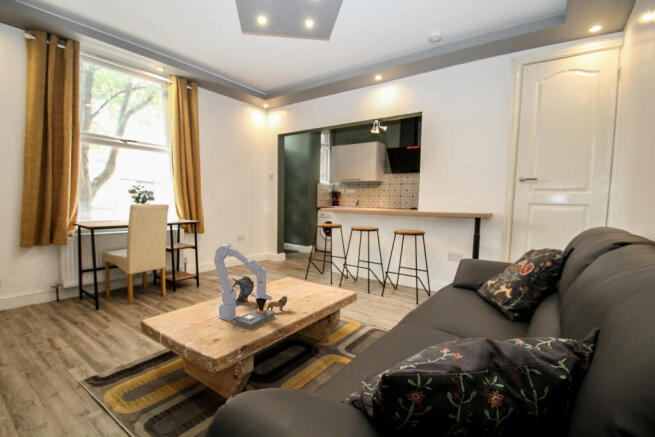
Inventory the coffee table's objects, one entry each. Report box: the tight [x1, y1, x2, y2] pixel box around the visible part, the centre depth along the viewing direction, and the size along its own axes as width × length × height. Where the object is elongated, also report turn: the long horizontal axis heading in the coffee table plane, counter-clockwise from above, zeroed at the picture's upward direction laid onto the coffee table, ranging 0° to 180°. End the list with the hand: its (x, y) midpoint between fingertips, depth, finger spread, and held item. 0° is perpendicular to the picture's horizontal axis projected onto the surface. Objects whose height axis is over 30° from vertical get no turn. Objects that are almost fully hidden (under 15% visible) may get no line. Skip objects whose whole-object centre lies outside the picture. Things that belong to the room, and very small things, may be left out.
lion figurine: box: [266, 295, 288, 313], centre depth 191 cm, size 15×5×9 cm, turn 121°
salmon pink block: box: [255, 308, 267, 315], centre depth 181 cm, size 4×4×4 cm
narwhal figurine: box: [231, 275, 255, 307], centre depth 205 cm, size 14×15×18 cm
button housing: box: [234, 308, 275, 330], centre depth 177 cm, size 12×20×3 cm, turn 150°
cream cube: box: [244, 315, 254, 321], centre depth 172 cm, size 4×4×4 cm
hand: (261, 310), depth 181 cm, fingers closed, pressing on salmon pink block
